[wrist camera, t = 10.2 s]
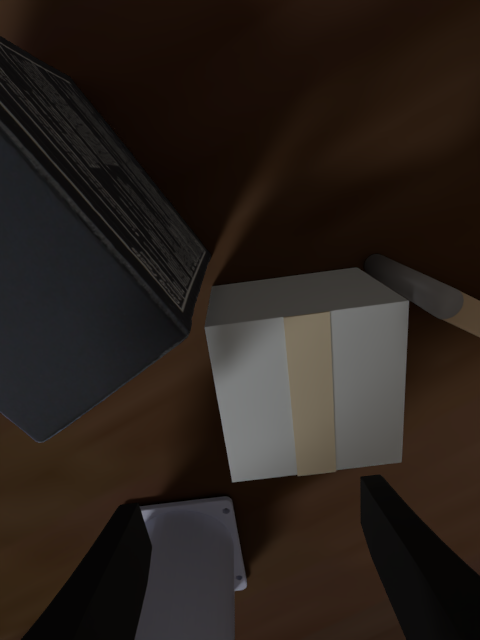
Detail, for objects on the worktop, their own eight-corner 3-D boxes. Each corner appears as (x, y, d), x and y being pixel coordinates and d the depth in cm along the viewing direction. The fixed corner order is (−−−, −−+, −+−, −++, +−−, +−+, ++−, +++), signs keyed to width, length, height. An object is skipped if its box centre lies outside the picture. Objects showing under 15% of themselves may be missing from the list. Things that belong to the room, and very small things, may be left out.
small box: (-26, 166, 17) (-375, 139, 7) (67, 70, 16) (-202, -122, 6) (127, 326, 20) (30, 458, 10) (216, 256, 19) (200, 333, 9)
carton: (358, 391, 22) (402, 463, 16) (231, 407, 22) (232, 484, 17) (356, 267, 19) (410, 301, 13) (212, 286, 19) (204, 328, 14)
